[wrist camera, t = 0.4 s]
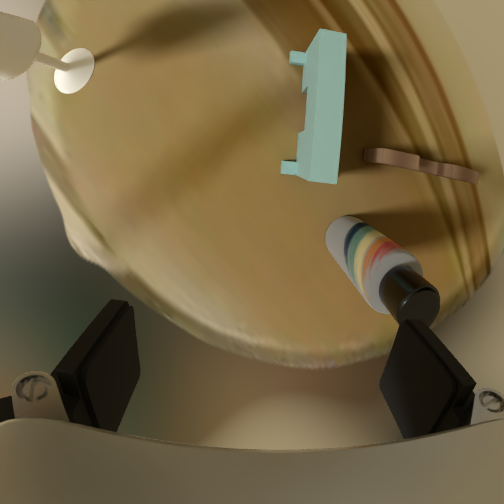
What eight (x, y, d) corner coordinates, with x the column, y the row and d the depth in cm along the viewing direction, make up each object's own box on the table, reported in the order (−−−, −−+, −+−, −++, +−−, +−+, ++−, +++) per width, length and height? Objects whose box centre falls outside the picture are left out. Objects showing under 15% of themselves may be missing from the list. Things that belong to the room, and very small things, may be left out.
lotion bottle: (371, 248, 39) (456, 325, 20) (332, 265, 40) (394, 358, 20) (359, 208, 37) (450, 261, 18) (318, 225, 38) (380, 296, 19)
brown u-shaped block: (363, 161, 36) (382, 163, 30) (364, 148, 35) (384, 148, 29) (451, 178, 36) (477, 184, 30) (452, 167, 35) (479, 171, 30)
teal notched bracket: (289, 53, 31) (301, 25, 23) (338, 61, 32) (363, 37, 23) (280, 173, 36) (290, 179, 27) (330, 178, 36) (353, 186, 28)
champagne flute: (50, 64, 30) (-77, 30, 8) (88, 39, 30) (-31, -25, 7) (59, 102, 32) (-81, 87, 9) (99, 77, 32) (-36, 29, 9)
